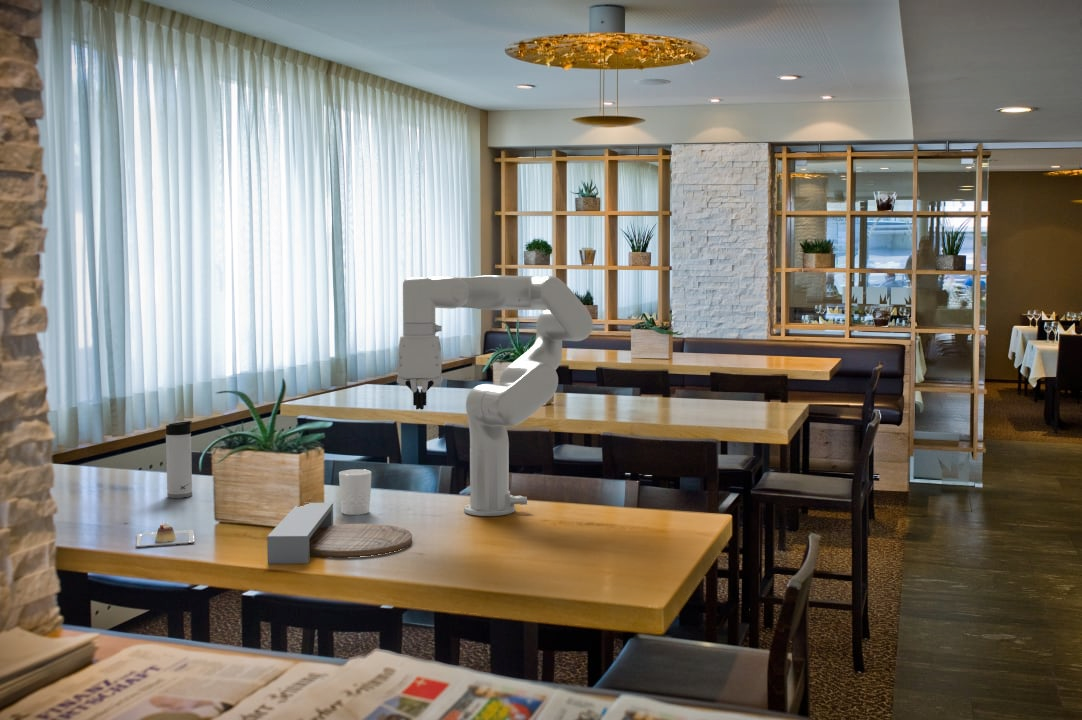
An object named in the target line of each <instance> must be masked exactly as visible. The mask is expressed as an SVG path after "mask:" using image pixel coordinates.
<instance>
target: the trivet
mask: <svg viewBox="0 0 1082 720" xmlns="http://www.w3.org/2000/svg"><path fill="white" fill-rule="evenodd" d="M411 542H412V543H413V534H412V533H411V531H410V530H407V529H406V528H402V527H399V526H394V525H388V524H378V523H349V524H348V523H346V524H336V525H333V526H327V527H322V528H317V530H316V531H315V532H314V533H313V535H312V536H311V537H310V539H309V551H310V556H314V557H320V558H328V557H329V558H330V557H332V558H333V559H334V558H335V559H349V558H348V557H360V556H371V555H378V554H385V553H389V552H394V551H398V550H400V549H403V548H406V547H407V546H408V547H410V546H411V545H412V543H411ZM410 544H411V545H410ZM409 545H410V546H409ZM408 547H407V548H408ZM407 548H406V549H407ZM403 550H404V549H403ZM400 551H401V550H400ZM398 552H399V551H398ZM394 553H395V552H394ZM385 555H386V554H385ZM332 558H330V559H332Z"/></svg>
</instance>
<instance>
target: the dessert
mask: <svg viewBox="0 0 1082 720" xmlns="http://www.w3.org/2000/svg"><path fill="white" fill-rule="evenodd" d="M177 533H178V535H180V534H179V533H189V542H188V541H180V542H175V541H177V537H176V535H175V534H177ZM142 535H156V536H155V539H154V542H155V541H158V542H157V543H153V544H152V543H151V544H143V545H141V541H140V540H141V536H142ZM174 540H175V541H174ZM195 540H196V539H195V532H194V529H184V530H174V527H173V526H170V524H169V523H168V521H164V523H163V524H160V525H159V527H158V528H157V530H156V532H155V531H154V532H143V533H136V544H135V547H138V548H147V547H146V546H154V547H163V545H167V546H176V544H180V545H189V544H188V543H191V544H193V543H196V541H195ZM168 541H172V542H168ZM160 542H164V543H160Z"/></svg>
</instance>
